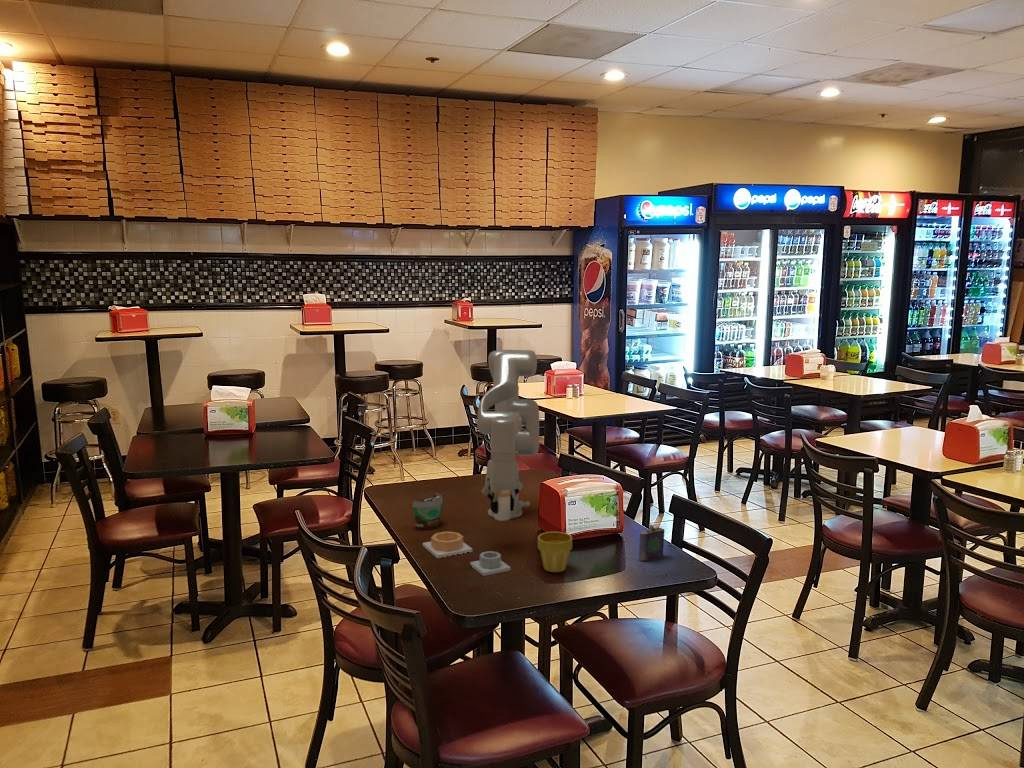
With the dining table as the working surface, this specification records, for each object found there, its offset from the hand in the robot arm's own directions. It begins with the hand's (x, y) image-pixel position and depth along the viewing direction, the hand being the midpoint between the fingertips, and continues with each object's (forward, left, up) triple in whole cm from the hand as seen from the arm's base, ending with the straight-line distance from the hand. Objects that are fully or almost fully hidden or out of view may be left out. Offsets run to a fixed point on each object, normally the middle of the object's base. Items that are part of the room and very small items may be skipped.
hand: (502, 510), depth 239 cm
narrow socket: (+11, +14, -12) cm, 22 cm away
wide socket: (+16, -6, -12) cm, 21 cm away
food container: (+12, -28, -12) cm, 33 cm away
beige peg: (0, 0, -3) cm, 3 cm away
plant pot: (-6, +23, -12) cm, 26 cm away
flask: (-37, +30, -12) cm, 49 cm away
